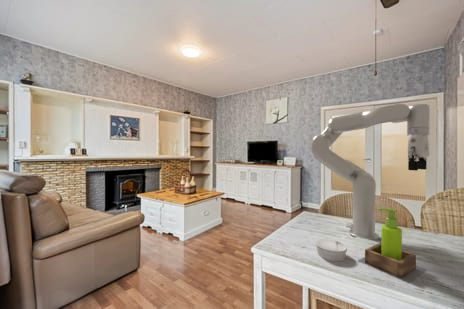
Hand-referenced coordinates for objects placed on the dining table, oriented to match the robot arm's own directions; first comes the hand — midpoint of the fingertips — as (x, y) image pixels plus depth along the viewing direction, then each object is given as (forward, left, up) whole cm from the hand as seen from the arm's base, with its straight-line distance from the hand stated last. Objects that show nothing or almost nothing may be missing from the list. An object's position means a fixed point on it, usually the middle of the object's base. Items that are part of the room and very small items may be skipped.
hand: (417, 169), depth 96 cm
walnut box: (+3, -33, -33) cm, 47 cm away
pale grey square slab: (+3, -32, -34) cm, 47 cm away
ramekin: (-13, -44, -35) cm, 57 cm away
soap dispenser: (+3, -33, -33) cm, 46 cm away
